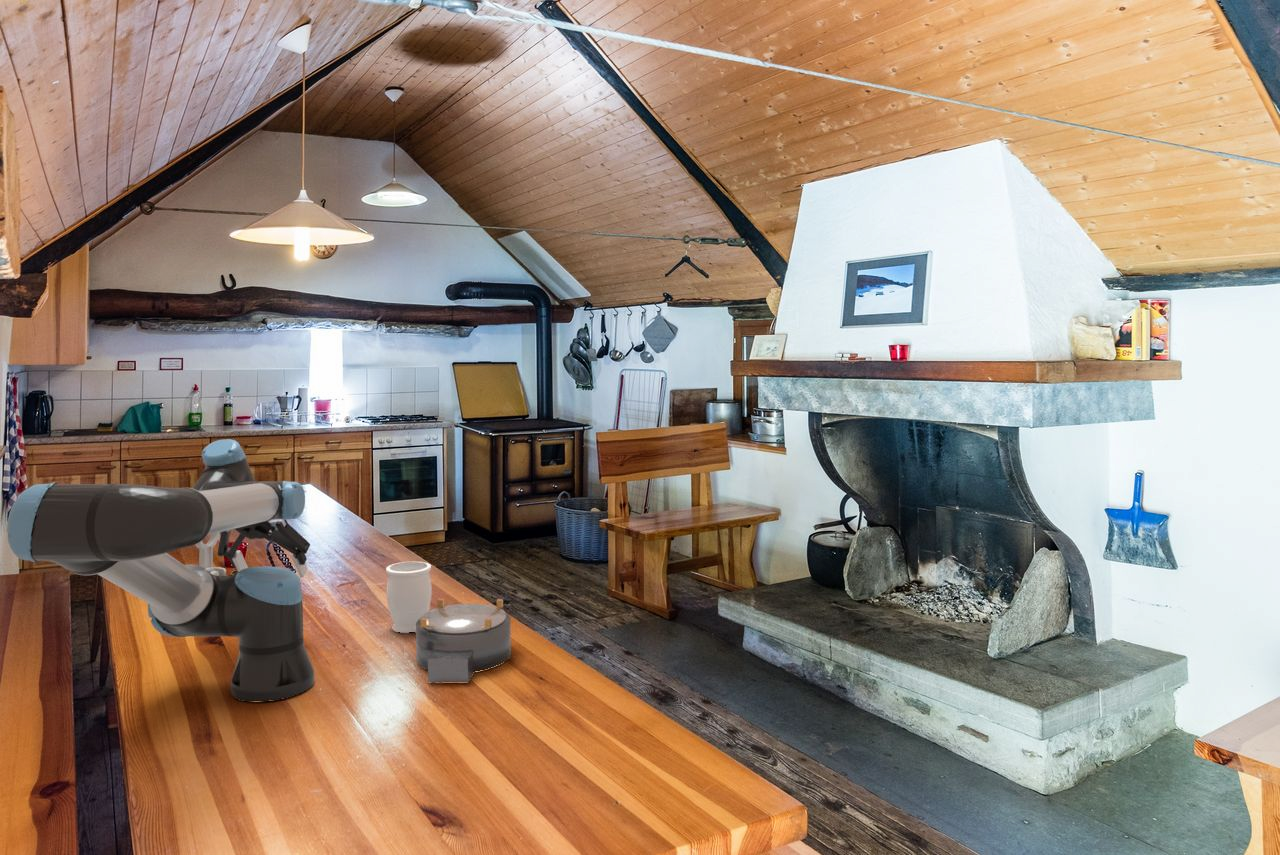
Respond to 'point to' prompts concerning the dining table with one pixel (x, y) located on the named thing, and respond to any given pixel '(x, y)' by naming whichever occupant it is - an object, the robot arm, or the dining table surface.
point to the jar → (408, 594)
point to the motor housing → (462, 640)
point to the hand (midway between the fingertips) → (274, 574)
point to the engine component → (209, 556)
